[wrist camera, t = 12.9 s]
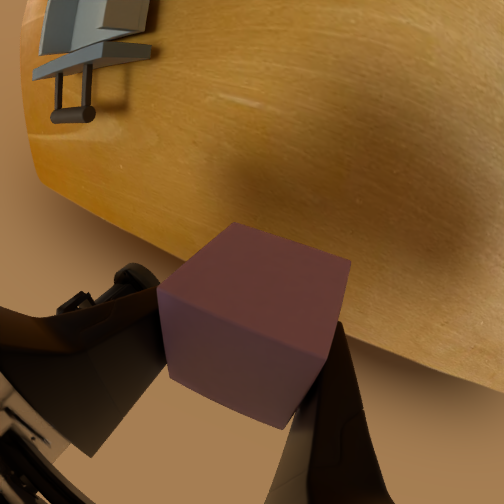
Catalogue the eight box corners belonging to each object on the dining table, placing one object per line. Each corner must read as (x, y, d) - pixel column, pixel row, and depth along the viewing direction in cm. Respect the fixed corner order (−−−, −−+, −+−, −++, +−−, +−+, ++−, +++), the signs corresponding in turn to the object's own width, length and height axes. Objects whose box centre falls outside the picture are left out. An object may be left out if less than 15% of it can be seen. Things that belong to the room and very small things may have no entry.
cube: (316, 344, 10) (282, 431, 7) (224, 308, 11) (168, 378, 8) (351, 260, 8) (327, 359, 5) (233, 220, 9) (154, 287, 6)
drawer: (145, 117, 19) (98, 126, 15) (68, 117, 22) (31, 127, 19) (187, -100, 6) (153, -118, 3) (98, -59, 10) (65, -64, 6)
